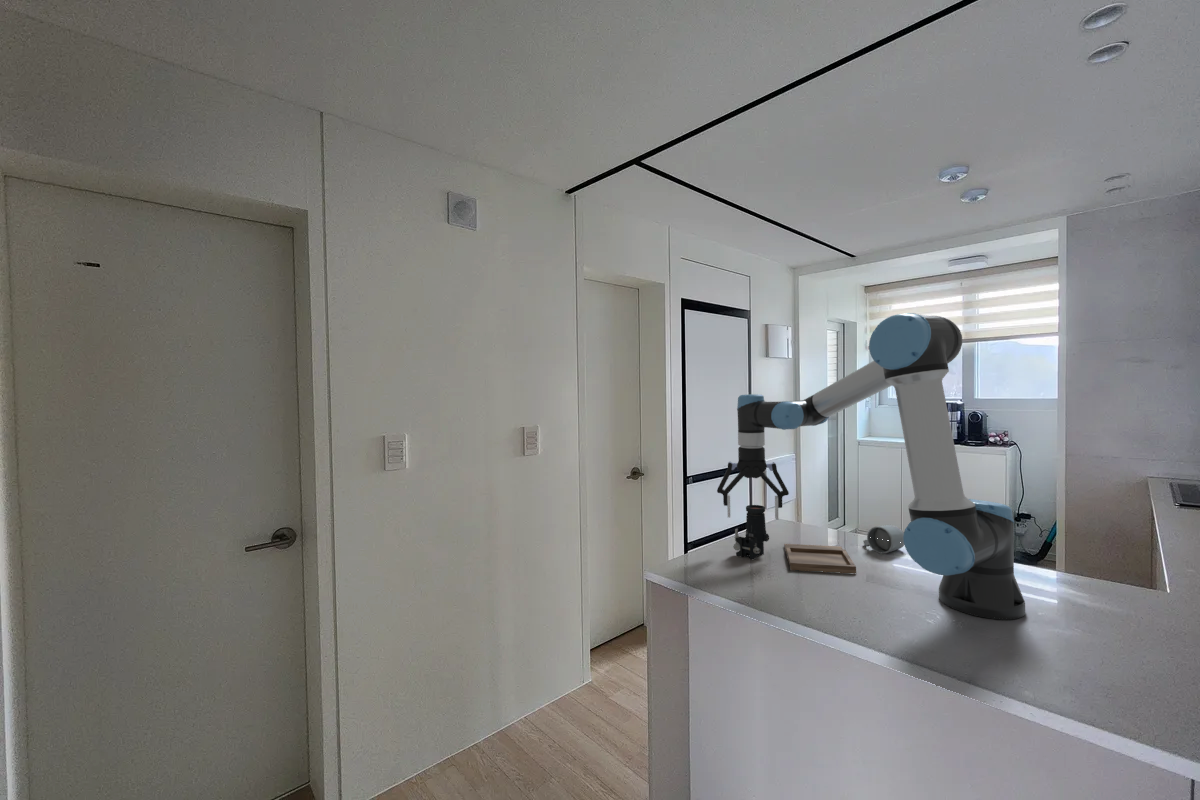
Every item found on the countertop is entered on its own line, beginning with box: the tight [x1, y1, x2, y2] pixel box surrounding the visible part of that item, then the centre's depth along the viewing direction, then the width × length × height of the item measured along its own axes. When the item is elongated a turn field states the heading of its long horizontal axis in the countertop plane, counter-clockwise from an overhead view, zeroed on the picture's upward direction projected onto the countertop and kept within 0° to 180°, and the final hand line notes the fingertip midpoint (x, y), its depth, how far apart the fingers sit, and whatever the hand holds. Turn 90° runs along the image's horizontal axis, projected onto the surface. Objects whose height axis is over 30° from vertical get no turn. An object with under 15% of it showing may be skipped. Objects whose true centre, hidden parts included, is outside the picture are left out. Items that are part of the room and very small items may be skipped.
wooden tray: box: [784, 543, 857, 574], centre depth 140 cm, size 20×16×2 cm
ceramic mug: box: [863, 524, 905, 555], centre depth 147 cm, size 11×8×8 cm
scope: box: [733, 504, 770, 560], centre depth 147 cm, size 8×14×10 cm
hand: (752, 517), depth 147 cm, fingers open, 13 cm apart
